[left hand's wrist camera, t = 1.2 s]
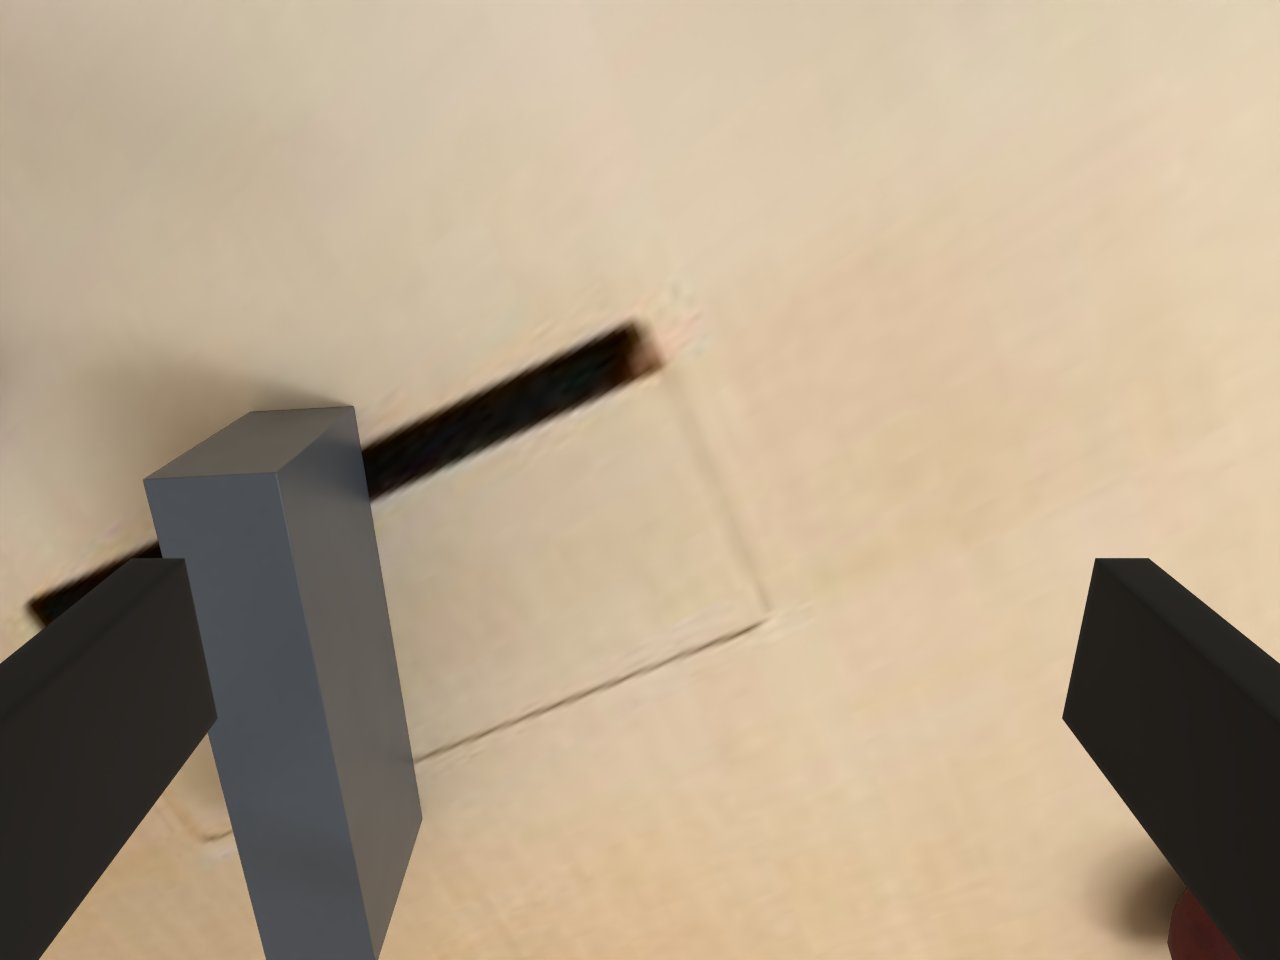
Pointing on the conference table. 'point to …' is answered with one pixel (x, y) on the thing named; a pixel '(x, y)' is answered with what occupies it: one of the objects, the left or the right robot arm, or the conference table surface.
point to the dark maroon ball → (1196, 933)
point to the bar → (298, 673)
